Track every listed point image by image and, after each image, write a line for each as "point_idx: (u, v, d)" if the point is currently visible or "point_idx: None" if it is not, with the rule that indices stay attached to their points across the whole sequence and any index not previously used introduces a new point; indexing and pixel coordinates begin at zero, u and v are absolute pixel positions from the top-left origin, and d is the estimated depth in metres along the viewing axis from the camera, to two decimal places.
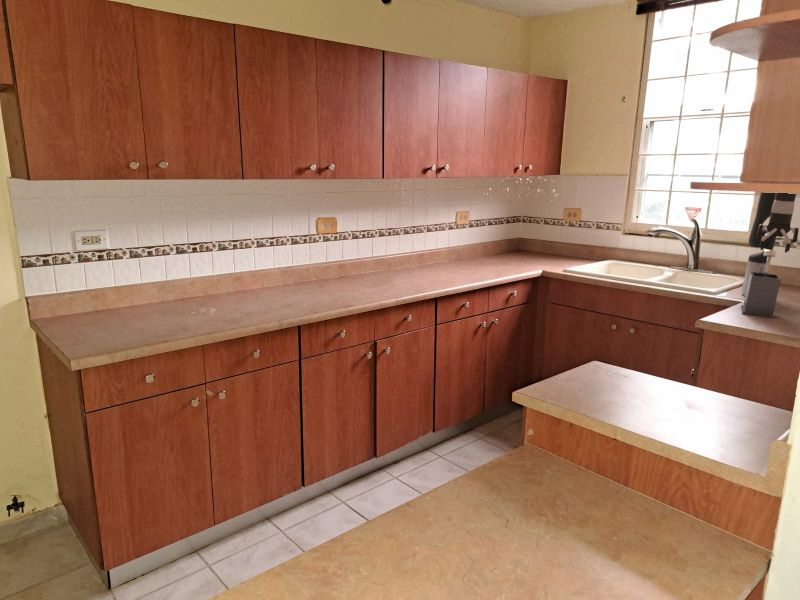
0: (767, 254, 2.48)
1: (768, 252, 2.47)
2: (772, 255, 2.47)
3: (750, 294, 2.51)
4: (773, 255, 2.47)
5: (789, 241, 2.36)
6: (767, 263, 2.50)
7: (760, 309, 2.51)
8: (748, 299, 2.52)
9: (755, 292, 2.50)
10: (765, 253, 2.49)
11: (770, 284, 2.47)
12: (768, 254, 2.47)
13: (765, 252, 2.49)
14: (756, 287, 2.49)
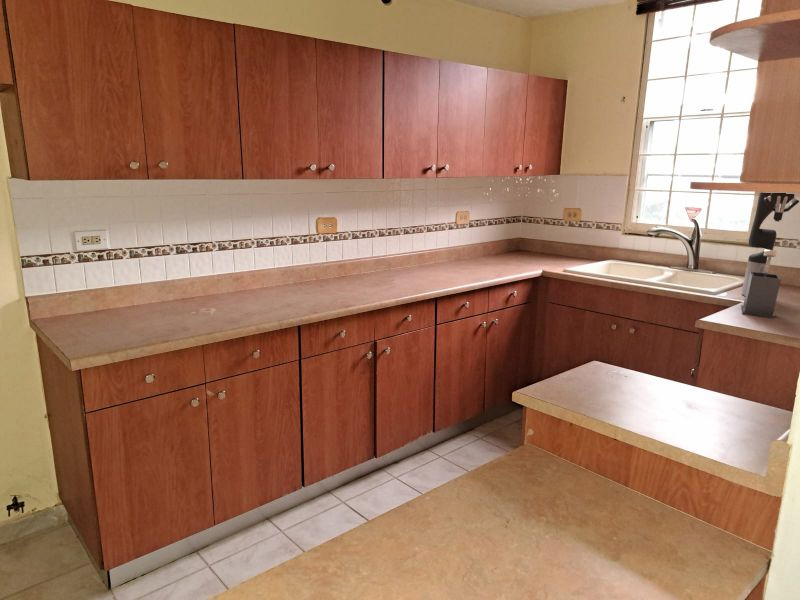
0: (767, 254, 2.48)
1: (768, 252, 2.47)
2: (772, 255, 2.47)
3: (750, 294, 2.51)
4: (773, 255, 2.47)
5: (781, 210, 2.43)
6: (767, 263, 2.50)
7: (760, 309, 2.51)
8: (748, 299, 2.52)
9: (755, 292, 2.50)
10: (765, 253, 2.49)
11: (770, 284, 2.47)
12: (768, 254, 2.47)
13: (765, 252, 2.49)
14: (756, 287, 2.49)
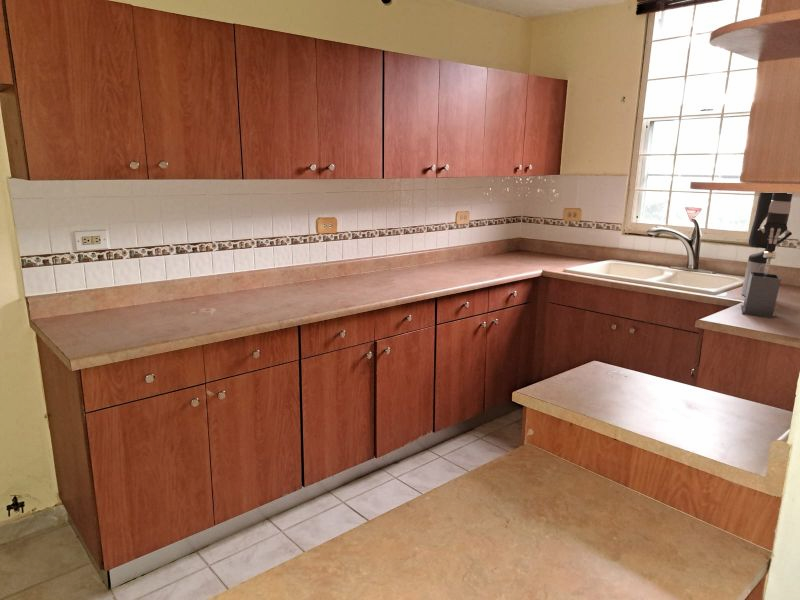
0: (767, 256, 2.48)
1: (768, 254, 2.47)
2: (772, 257, 2.47)
3: (750, 294, 2.51)
4: (773, 257, 2.47)
5: (774, 242, 2.46)
6: (767, 265, 2.50)
7: (760, 309, 2.51)
8: (748, 299, 2.52)
9: (755, 292, 2.50)
10: (765, 255, 2.49)
11: (770, 284, 2.47)
12: (768, 256, 2.48)
13: (765, 254, 2.49)
14: (756, 287, 2.49)
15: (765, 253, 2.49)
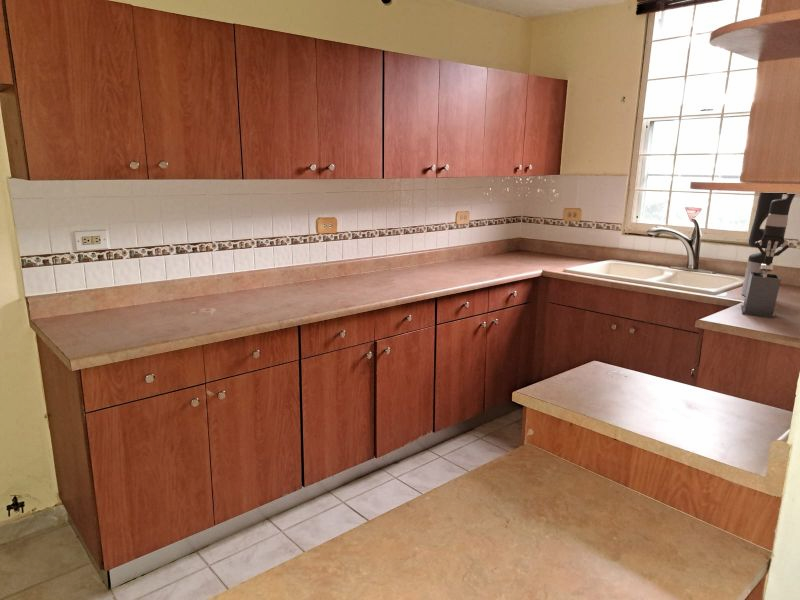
0: (764, 268, 2.49)
1: (765, 266, 2.49)
2: (769, 269, 2.49)
3: (750, 294, 2.51)
4: (770, 269, 2.49)
5: (772, 254, 2.48)
6: None
7: (760, 309, 2.51)
8: (748, 299, 2.52)
9: (755, 292, 2.50)
10: (762, 267, 2.50)
11: (770, 284, 2.47)
12: (765, 268, 2.49)
13: (762, 266, 2.50)
14: (756, 287, 2.49)
15: (762, 266, 2.50)
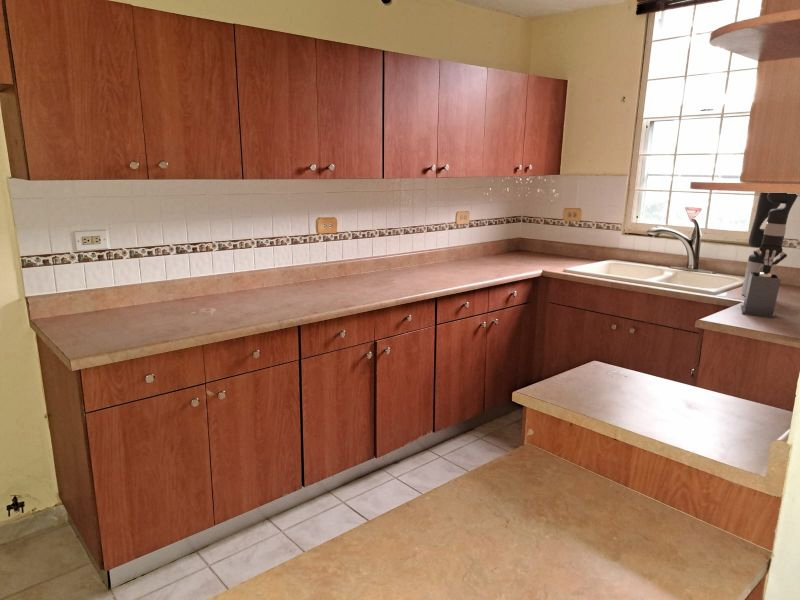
0: None
1: (763, 275, 2.50)
2: None
3: (750, 294, 2.51)
4: None
5: (770, 263, 2.49)
6: None
7: (760, 309, 2.51)
8: (748, 299, 2.52)
9: (755, 292, 2.50)
10: (760, 276, 2.51)
11: (770, 284, 2.47)
12: None
13: (760, 275, 2.51)
14: (756, 287, 2.49)
15: (761, 274, 2.51)
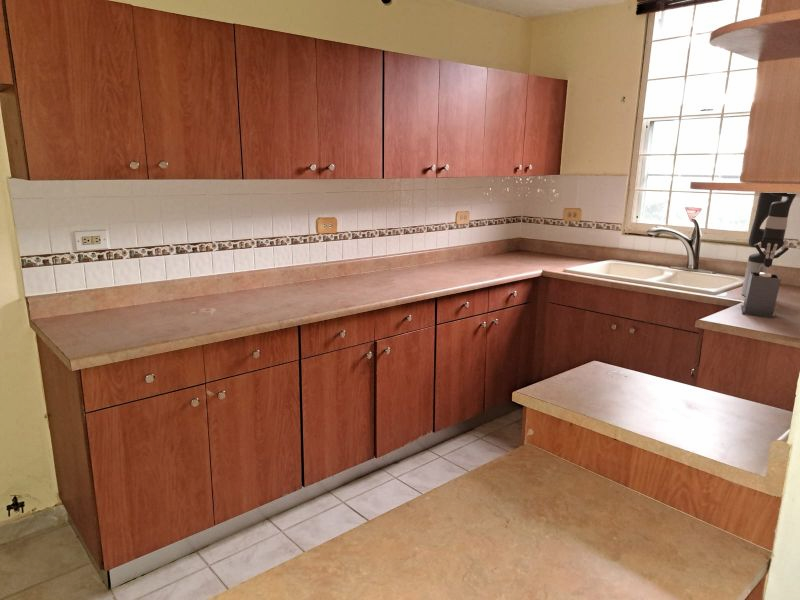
0: None
1: (763, 275, 2.50)
2: None
3: (750, 294, 2.51)
4: None
5: (771, 257, 2.48)
6: None
7: (760, 309, 2.51)
8: (748, 299, 2.52)
9: (755, 292, 2.50)
10: (760, 276, 2.51)
11: (770, 284, 2.47)
12: None
13: (760, 275, 2.51)
14: (756, 287, 2.49)
15: (761, 274, 2.51)
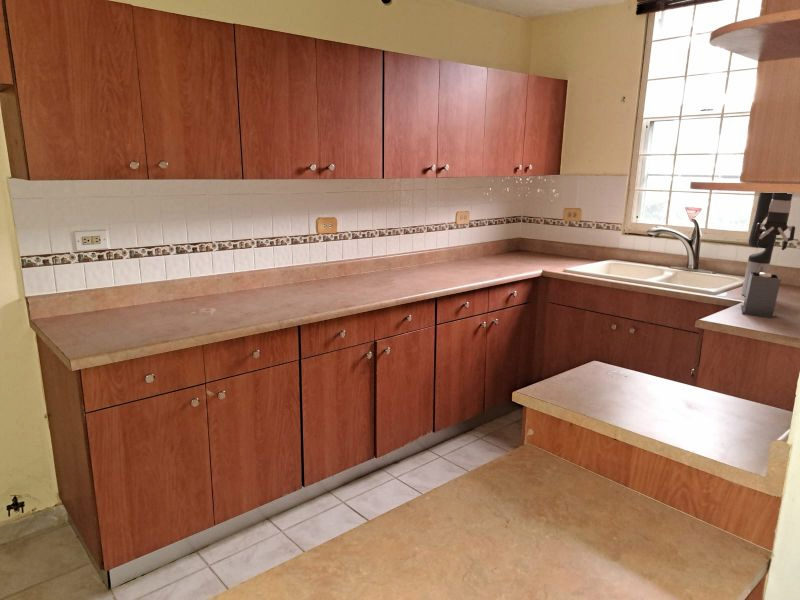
0: None
1: (763, 275, 2.50)
2: None
3: (750, 294, 2.51)
4: None
5: (786, 239, 2.44)
6: None
7: (760, 309, 2.51)
8: (748, 299, 2.52)
9: (755, 292, 2.50)
10: (760, 276, 2.51)
11: (770, 284, 2.47)
12: None
13: (760, 275, 2.51)
14: (756, 287, 2.49)
15: (761, 274, 2.51)
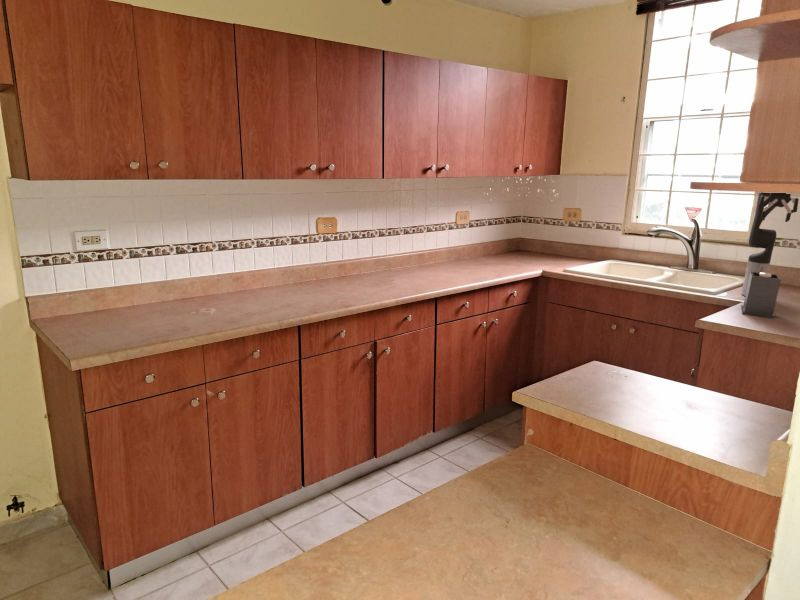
0: None
1: (763, 275, 2.50)
2: None
3: (750, 294, 2.51)
4: None
5: (789, 211, 2.48)
6: None
7: (760, 309, 2.51)
8: (748, 299, 2.52)
9: (755, 292, 2.50)
10: (760, 276, 2.51)
11: (770, 284, 2.47)
12: None
13: (760, 275, 2.51)
14: (756, 287, 2.49)
15: (761, 274, 2.51)
